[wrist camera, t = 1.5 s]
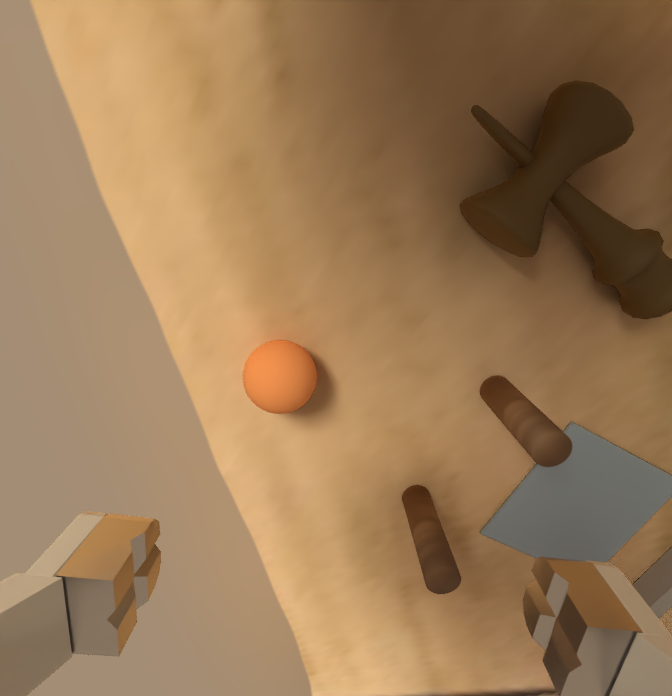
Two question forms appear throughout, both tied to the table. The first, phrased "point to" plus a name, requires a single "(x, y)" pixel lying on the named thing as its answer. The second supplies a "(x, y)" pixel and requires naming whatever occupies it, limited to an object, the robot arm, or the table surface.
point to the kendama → (573, 196)
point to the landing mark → (581, 502)
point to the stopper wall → (657, 585)
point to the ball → (279, 376)
